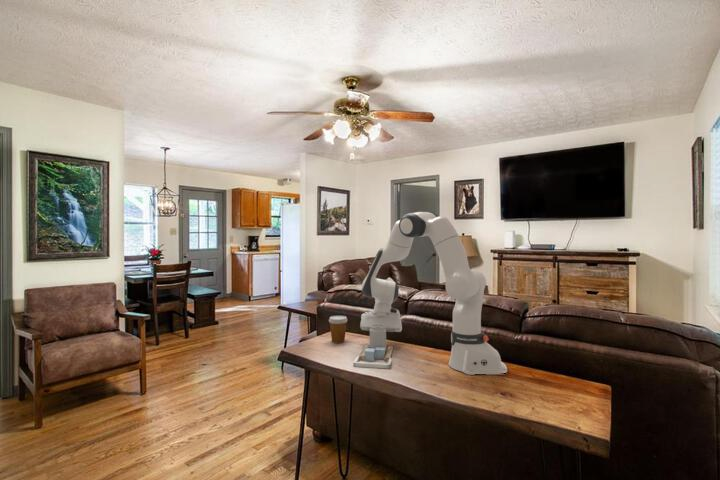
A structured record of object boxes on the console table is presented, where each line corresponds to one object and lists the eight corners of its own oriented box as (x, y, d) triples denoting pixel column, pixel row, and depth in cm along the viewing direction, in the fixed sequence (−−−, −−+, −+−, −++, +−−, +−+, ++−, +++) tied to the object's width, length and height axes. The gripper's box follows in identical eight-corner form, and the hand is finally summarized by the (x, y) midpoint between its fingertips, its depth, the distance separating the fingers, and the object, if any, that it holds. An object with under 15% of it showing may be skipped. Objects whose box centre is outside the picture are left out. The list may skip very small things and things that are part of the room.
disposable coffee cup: (347, 344, 177) (347, 319, 176) (327, 344, 177) (327, 319, 177) (348, 338, 186) (348, 315, 186) (329, 338, 186) (329, 315, 186)
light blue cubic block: (375, 357, 157) (375, 348, 157) (373, 361, 153) (373, 351, 153) (366, 357, 158) (366, 348, 158) (364, 360, 154) (364, 351, 154)
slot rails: (393, 349, 168) (393, 346, 168) (389, 361, 152) (389, 357, 152) (365, 348, 170) (365, 344, 170) (359, 359, 155) (359, 356, 154)
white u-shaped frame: (391, 361, 152) (391, 358, 152) (389, 368, 144) (389, 364, 144) (357, 359, 155) (357, 356, 155) (353, 366, 147) (353, 362, 147)
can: (367, 353, 163) (367, 327, 162) (373, 348, 169) (372, 323, 169) (383, 355, 160) (383, 328, 160) (388, 350, 167) (388, 324, 166)
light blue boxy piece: (385, 356, 159) (385, 347, 159) (384, 359, 156) (384, 350, 155) (376, 355, 160) (376, 346, 160) (375, 358, 156) (375, 349, 156)
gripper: (360, 309, 179) (357, 333, 169) (402, 310, 175) (400, 335, 166) (362, 315, 183) (359, 340, 174) (402, 317, 180) (401, 342, 170)
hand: (379, 338), depth 170 cm, fingers closed
